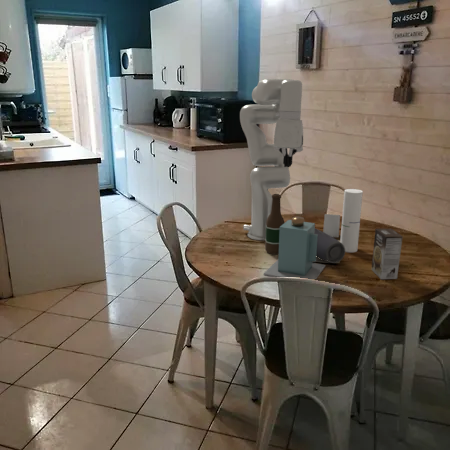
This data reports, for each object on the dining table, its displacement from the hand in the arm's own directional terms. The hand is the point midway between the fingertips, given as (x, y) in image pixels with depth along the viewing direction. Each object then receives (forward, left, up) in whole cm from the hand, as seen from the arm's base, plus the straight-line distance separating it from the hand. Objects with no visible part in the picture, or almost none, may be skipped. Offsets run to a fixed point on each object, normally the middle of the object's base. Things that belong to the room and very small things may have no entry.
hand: (287, 166), depth 171 cm
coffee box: (+38, +1, -37) cm, 53 cm away
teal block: (+8, -10, -37) cm, 39 cm away
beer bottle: (-6, +6, -37) cm, 38 cm away
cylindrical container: (+21, +22, -37) cm, 48 cm away
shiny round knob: (+8, -10, -33) cm, 35 cm away
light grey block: (+10, +37, -37) cm, 53 cm away
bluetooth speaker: (+12, +9, -37) cm, 40 cm away
